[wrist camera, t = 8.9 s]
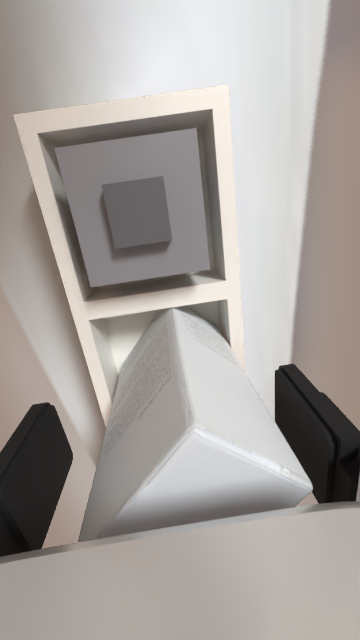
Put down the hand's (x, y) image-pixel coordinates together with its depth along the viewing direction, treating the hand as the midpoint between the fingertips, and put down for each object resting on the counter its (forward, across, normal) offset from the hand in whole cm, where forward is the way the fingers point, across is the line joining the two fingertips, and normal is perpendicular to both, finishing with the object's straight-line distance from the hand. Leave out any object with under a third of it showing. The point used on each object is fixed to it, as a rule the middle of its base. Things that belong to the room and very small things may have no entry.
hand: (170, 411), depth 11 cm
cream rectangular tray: (+8, 0, -3) cm, 9 cm away
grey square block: (+8, 0, -8) cm, 11 cm away
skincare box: (+8, 0, +1) cm, 8 cm away
